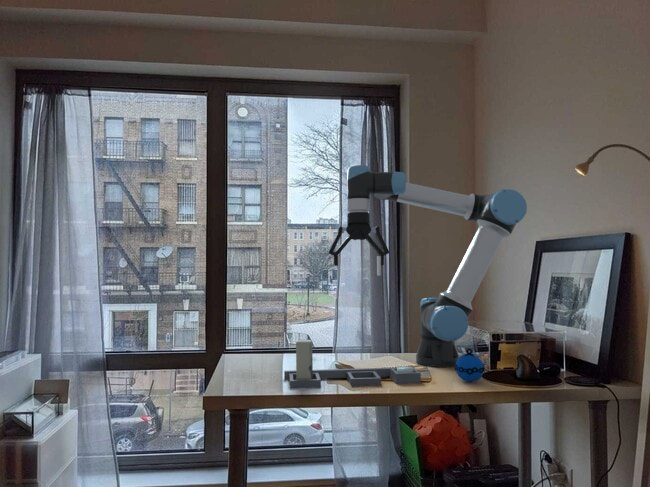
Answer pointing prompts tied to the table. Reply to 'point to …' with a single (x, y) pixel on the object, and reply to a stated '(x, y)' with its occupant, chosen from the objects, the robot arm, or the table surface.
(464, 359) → the ornament
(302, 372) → the box
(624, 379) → the table surface
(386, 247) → the robot arm
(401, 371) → the release button
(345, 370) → the panel
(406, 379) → the button collar
